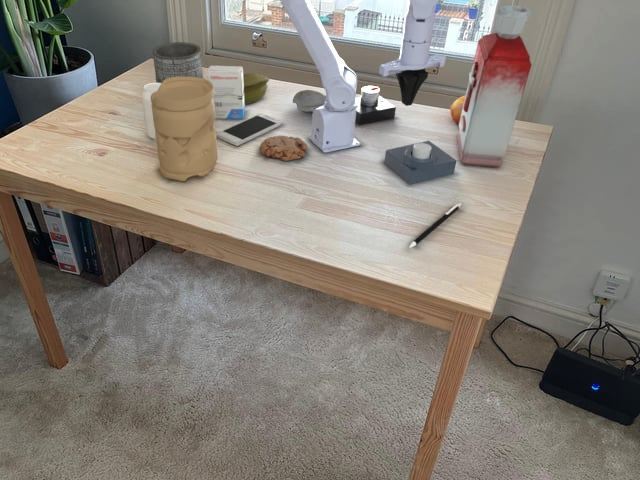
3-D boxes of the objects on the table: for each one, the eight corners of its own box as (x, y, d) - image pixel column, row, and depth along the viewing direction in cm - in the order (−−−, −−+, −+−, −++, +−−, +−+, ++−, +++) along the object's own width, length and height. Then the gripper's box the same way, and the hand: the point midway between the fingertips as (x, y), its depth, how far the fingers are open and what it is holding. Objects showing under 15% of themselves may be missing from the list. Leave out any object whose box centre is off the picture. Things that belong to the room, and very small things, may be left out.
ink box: (245, 111, 147) (244, 65, 140) (243, 119, 143) (241, 72, 136) (212, 110, 148) (209, 64, 140) (209, 118, 144) (205, 71, 137)
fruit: (495, 125, 136) (485, 97, 132) (463, 141, 139) (451, 114, 135) (485, 111, 142) (475, 83, 138) (454, 126, 145) (443, 100, 141)
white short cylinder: (418, 161, 117) (420, 152, 116) (408, 153, 119) (410, 144, 118) (433, 158, 118) (435, 149, 117) (423, 150, 120) (424, 141, 119)
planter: (213, 95, 155) (210, 46, 147) (185, 111, 148) (180, 61, 139) (177, 86, 160) (172, 39, 152) (149, 102, 153) (142, 52, 144)
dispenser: (411, 186, 118) (415, 164, 115) (383, 163, 126) (387, 142, 123) (455, 175, 121) (461, 154, 118) (426, 153, 129) (430, 132, 126)
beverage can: (166, 128, 140) (160, 79, 133) (178, 137, 136) (172, 88, 129) (143, 134, 138) (135, 85, 130) (154, 144, 134) (147, 94, 126)
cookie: (258, 143, 134) (258, 131, 132) (303, 141, 134) (304, 129, 132) (262, 164, 126) (261, 152, 124) (309, 162, 127) (310, 149, 125)
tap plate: (359, 125, 140) (360, 113, 138) (341, 111, 147) (342, 99, 145) (394, 118, 143) (396, 106, 141) (375, 104, 149) (377, 93, 147)
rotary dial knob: (365, 108, 141) (367, 92, 138) (356, 101, 144) (358, 86, 141) (381, 105, 142) (383, 89, 139) (372, 98, 145) (374, 83, 142)
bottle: (505, 170, 123) (550, 21, 103) (455, 166, 125) (490, 19, 105) (497, 139, 134) (537, 0, 114) (452, 136, 135) (483, -3, 116)
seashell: (283, 111, 147) (283, 92, 144) (300, 100, 152) (301, 82, 149) (323, 123, 141) (324, 103, 138) (339, 111, 147) (341, 92, 143)
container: (156, 184, 120) (144, 100, 108) (164, 155, 130) (154, 76, 118) (216, 183, 120) (211, 100, 108) (219, 155, 130) (215, 75, 118)
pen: (462, 206, 112) (463, 201, 111) (410, 250, 102) (411, 245, 101) (458, 205, 113) (459, 200, 112) (406, 248, 102) (407, 243, 101)
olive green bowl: (268, 108, 149) (268, 82, 144) (222, 107, 149) (220, 82, 145) (269, 90, 157) (269, 66, 153) (225, 90, 158) (224, 66, 153)
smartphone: (215, 136, 136) (215, 133, 136) (260, 116, 145) (260, 112, 144) (237, 146, 132) (236, 142, 132) (281, 124, 141) (281, 121, 140)
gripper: (436, 28, 121) (425, 91, 130) (375, 37, 118) (368, 102, 126) (456, 38, 116) (443, 103, 125) (392, 48, 112) (384, 114, 121)
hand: (406, 103), depth 125 cm, fingers closed
